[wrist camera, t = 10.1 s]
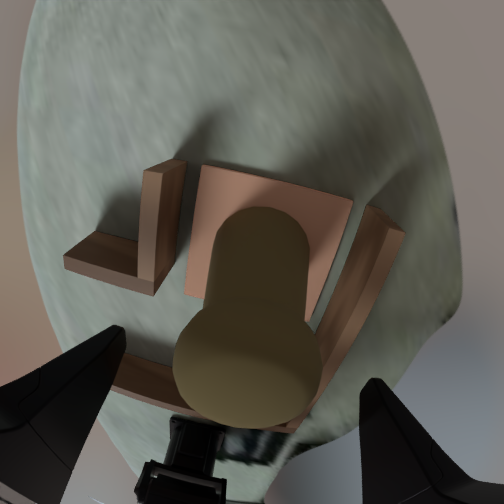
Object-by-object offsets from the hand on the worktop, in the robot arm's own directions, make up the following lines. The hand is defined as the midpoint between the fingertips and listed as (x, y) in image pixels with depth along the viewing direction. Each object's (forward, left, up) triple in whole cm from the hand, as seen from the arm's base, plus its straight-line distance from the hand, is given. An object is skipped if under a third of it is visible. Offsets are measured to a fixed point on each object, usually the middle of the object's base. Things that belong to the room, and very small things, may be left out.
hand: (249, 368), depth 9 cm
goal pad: (0, 0, -10) cm, 10 cm away
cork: (0, 0, -10) cm, 10 cm away
